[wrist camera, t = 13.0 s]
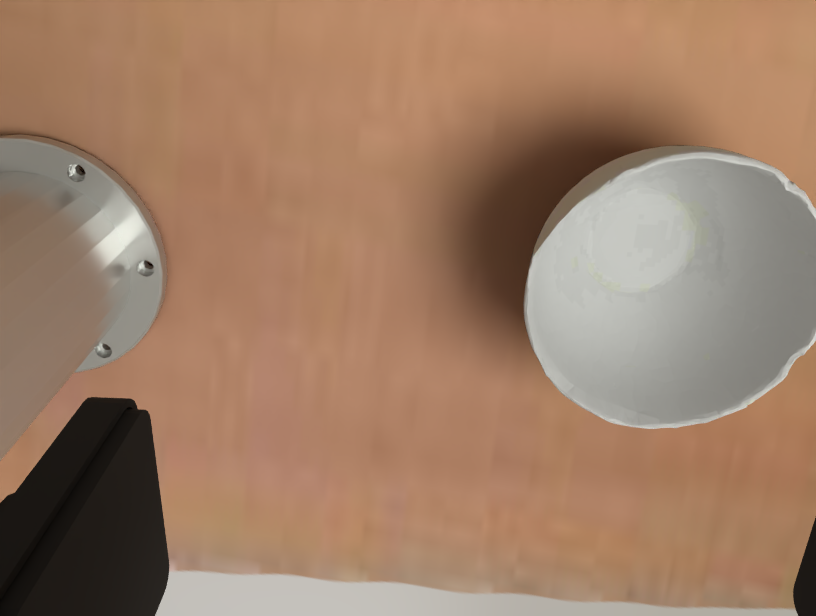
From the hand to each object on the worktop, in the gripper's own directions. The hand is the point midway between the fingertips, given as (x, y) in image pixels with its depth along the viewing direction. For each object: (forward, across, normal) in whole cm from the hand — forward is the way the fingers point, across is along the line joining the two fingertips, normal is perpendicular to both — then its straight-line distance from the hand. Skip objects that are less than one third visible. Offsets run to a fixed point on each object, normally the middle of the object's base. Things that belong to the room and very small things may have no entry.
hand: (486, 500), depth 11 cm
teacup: (+28, -11, +6) cm, 31 cm away
